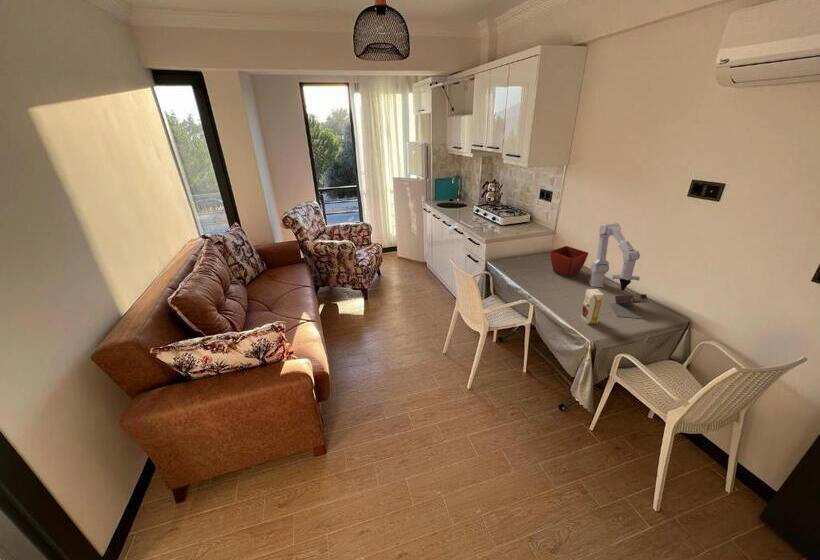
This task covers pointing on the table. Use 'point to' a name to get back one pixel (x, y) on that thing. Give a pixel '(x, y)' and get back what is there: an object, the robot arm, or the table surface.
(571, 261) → the plant pot
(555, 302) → the table surface
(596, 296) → the juice carton
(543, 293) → the table surface
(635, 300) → the supplement box
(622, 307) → the mat
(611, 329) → the table surface
